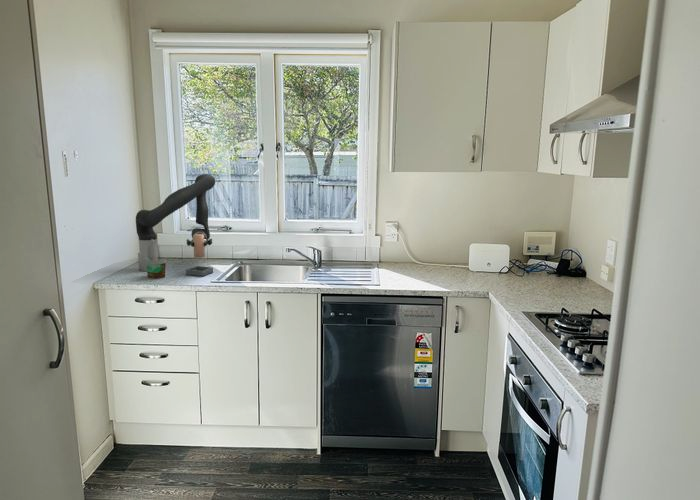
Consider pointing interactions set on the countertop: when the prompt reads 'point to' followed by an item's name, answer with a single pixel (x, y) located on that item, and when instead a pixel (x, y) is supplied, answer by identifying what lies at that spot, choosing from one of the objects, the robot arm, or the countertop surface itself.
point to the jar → (199, 245)
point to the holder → (199, 271)
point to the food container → (155, 268)
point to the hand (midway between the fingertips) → (198, 244)
